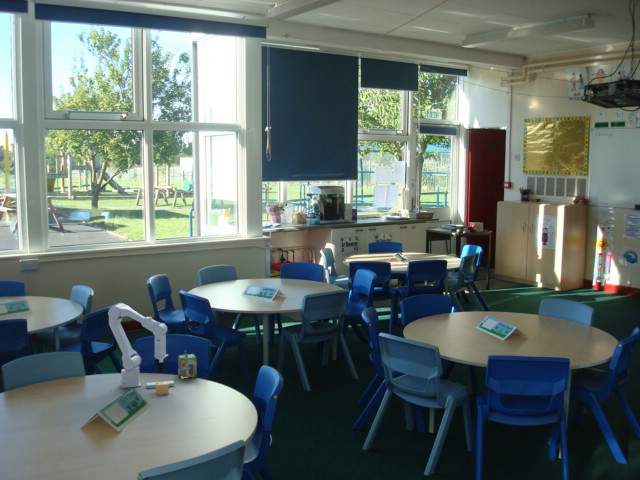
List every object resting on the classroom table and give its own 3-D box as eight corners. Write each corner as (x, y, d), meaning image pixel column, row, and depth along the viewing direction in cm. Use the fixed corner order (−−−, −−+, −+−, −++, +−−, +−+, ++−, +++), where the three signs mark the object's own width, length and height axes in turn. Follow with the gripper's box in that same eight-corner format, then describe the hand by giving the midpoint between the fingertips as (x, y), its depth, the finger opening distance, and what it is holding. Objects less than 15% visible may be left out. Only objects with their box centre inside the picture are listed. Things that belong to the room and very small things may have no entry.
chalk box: (197, 377, 354) (196, 351, 353) (180, 379, 351) (180, 353, 349) (194, 373, 362) (193, 347, 361) (177, 374, 359) (177, 349, 358)
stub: (156, 394, 324) (156, 385, 324) (155, 391, 329) (155, 382, 329) (168, 393, 326) (168, 384, 326) (167, 390, 331) (167, 381, 331)
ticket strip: (147, 388, 334) (147, 385, 334) (146, 385, 338) (146, 382, 338) (174, 386, 338) (174, 383, 338) (173, 383, 343) (173, 380, 343)
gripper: (169, 349, 330) (169, 375, 331) (166, 343, 343) (166, 367, 344) (155, 350, 327) (155, 376, 328) (153, 344, 341) (153, 368, 342)
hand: (160, 372), depth 336 cm, fingers closed
